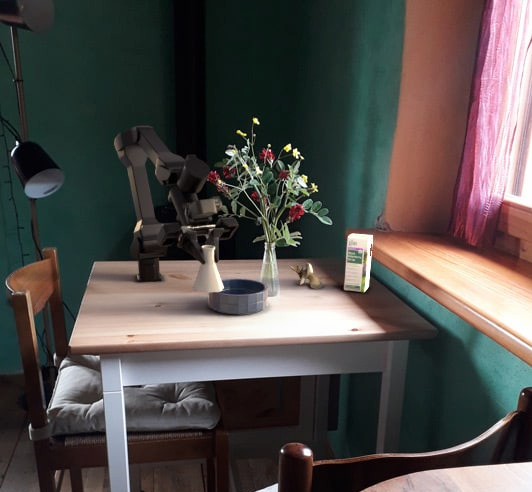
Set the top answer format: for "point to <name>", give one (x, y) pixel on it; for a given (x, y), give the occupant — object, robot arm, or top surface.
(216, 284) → the flask
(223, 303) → the blue faceted bowl
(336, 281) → the top surface
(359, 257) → the syrup box
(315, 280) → the animal figurine
